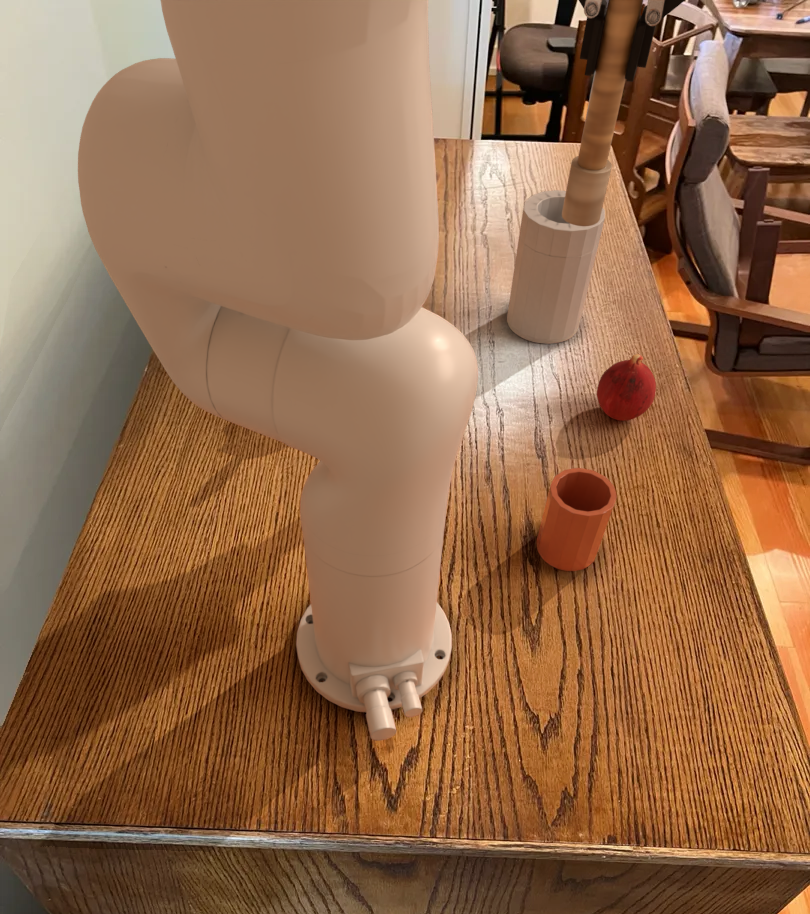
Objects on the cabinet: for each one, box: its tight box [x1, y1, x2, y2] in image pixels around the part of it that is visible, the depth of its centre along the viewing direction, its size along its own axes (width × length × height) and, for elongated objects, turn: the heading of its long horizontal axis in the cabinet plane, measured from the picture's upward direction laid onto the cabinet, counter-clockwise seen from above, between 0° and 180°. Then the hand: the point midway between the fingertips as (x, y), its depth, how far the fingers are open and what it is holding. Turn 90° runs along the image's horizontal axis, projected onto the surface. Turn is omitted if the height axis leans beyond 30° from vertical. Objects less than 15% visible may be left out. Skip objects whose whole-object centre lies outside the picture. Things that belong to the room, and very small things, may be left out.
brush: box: [562, 0, 644, 226], centre depth 66 cm, size 4×4×18 cm
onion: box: [596, 353, 657, 422], centre depth 79 cm, size 6×6×8 cm
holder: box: [535, 467, 618, 572], centre depth 67 cm, size 5×6×8 cm
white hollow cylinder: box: [506, 189, 606, 345], centre depth 87 cm, size 9×9×14 cm
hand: (611, 70), depth 63 cm, fingers closed on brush, 2 cm apart
